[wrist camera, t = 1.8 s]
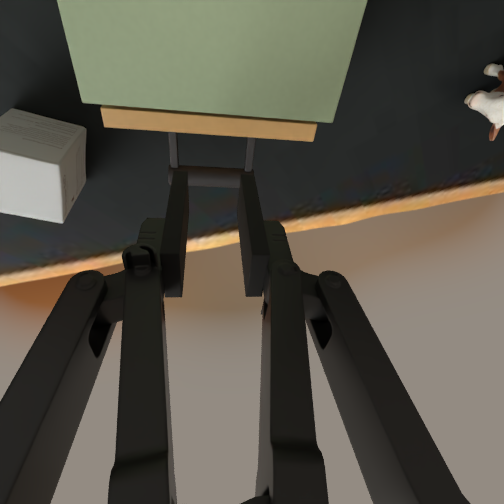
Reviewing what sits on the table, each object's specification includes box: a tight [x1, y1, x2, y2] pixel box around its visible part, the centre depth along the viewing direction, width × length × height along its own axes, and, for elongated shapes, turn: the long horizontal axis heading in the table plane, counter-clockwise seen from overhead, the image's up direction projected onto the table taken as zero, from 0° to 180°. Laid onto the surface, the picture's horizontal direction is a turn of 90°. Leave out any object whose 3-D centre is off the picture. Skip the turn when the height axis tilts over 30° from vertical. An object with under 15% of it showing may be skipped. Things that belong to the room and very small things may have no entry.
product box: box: [0, 108, 86, 223], centre depth 27 cm, size 6×6×7 cm
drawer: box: [100, 105, 317, 188], centre depth 20 cm, size 22×14×9 cm, turn 174°
